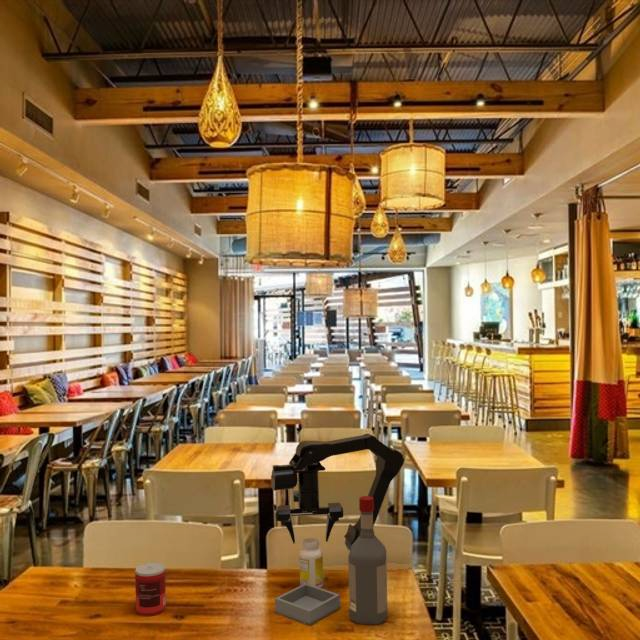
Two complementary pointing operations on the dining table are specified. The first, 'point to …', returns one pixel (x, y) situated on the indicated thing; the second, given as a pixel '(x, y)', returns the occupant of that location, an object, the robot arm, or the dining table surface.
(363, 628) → the dining table surface
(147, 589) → the canned food
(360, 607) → the liquor
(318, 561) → the supplement bottle
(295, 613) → the tray
